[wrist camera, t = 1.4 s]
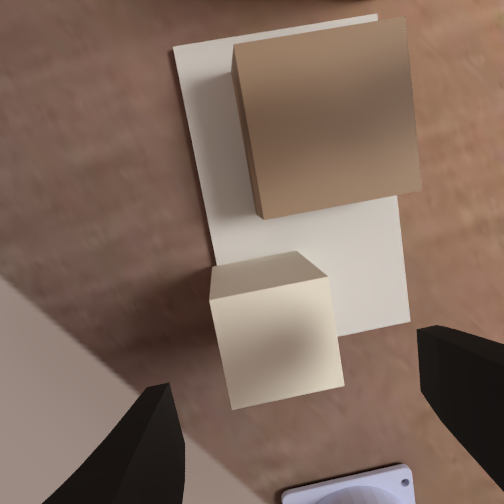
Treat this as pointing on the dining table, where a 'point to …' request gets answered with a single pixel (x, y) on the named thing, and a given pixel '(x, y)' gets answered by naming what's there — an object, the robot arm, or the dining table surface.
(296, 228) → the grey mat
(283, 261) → the cream block
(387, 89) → the brown block
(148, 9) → the dining table surface
